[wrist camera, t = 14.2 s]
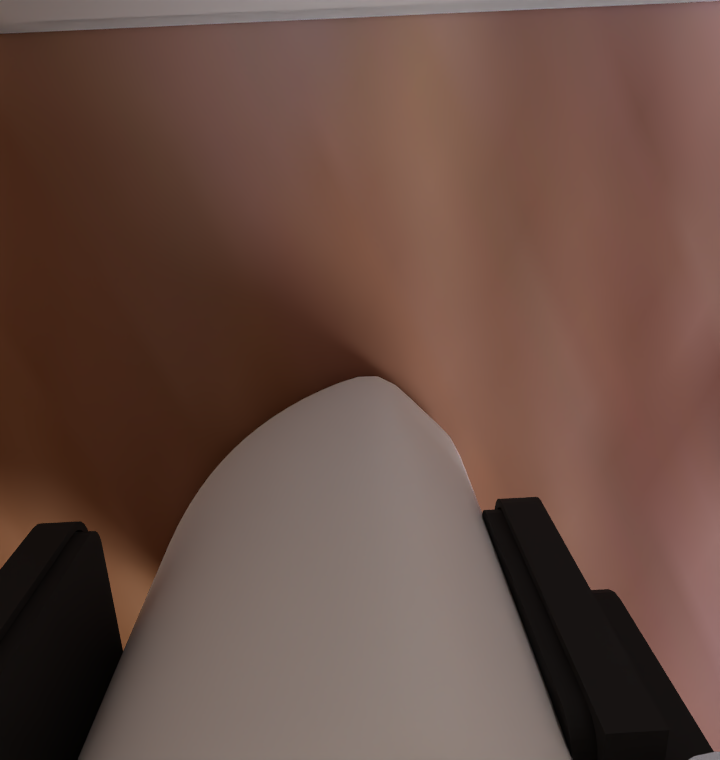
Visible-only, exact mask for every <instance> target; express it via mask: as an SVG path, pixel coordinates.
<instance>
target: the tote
mask: <svg viewBox="0 0 720 760" xmlns="http://www.w3.org/2000/svg"><path fill="white" fill-rule="evenodd" d="M706 1H720V0H0V34H5V33H27V32H49V31H71V30H93V29H115V28H136V27H158V26H180V25H202V24H224V23H246V22H268V21H290V20H312V19H334V18H356V17H377V16H399V15H421V14H443V13H465V12H487V11H509V10H531V9H553V8H575V7H597V6H618V5H640V4H662V3H684V2H706Z"/></svg>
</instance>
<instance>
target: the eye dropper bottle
mask: <svg viewBox="0 0 720 760" xmlns="http://www.w3.org/2000/svg"><path fill="white" fill-rule="evenodd" d="M78 760H572V758H571V755H570V752H569V749H568V746H567V744H566V741H565V738H564V735H563V732H562V730H561V727H560V724H559V721H558V718H557V715H556V713H555V710H554V707H553V704H552V701H551V699H550V696H549V693H548V690H547V688H546V685H545V682H544V680H543V677H542V674H541V672H540V669H539V666H538V664H537V661H536V658H535V656H534V653H533V650H532V648H531V645H530V642H529V640H528V637H527V634H526V632H525V629H524V626H523V624H522V621H521V618H520V616H519V613H518V610H517V608H516V605H515V602H514V600H513V597H512V594H511V592H510V589H509V586H508V584H507V581H506V578H505V576H504V573H503V570H502V568H501V565H500V562H499V560H498V557H497V554H496V552H495V549H494V546H493V544H492V541H491V538H490V536H489V533H488V531H487V528H486V525H485V523H484V520H483V517H482V512H481V509H480V506H479V504H478V501H477V499H476V496H475V493H474V491H473V488H472V486H471V483H470V480H469V478H468V475H467V473H466V470H465V468H464V465H463V462H462V460H461V457H460V455H459V453H458V451H457V449H456V447H455V445H454V443H453V442H452V440H451V438H450V436H449V435H448V434H447V433H446V432H445V431H444V430H443V429H442V428H441V427H440V426H439V425H438V424H437V423H436V422H435V421H434V420H433V419H432V418H431V417H430V416H429V415H428V414H427V413H425V412H424V411H423V410H422V409H421V408H420V407H419V406H418V405H417V404H416V403H415V402H414V401H413V400H412V399H411V398H410V397H408V396H407V395H406V394H405V393H404V392H403V391H402V390H400V389H399V388H398V387H397V386H396V385H394V384H392V383H390V382H388V381H386V380H384V379H382V378H380V377H378V376H364V377H356V378H353V379H349V380H346V381H343V382H340V383H337V384H335V385H332V386H330V387H328V388H325V389H323V390H321V391H318V392H316V393H314V394H312V395H310V396H308V397H306V398H304V399H302V400H300V401H299V402H297V403H295V404H293V405H291V406H290V407H288V408H286V409H285V410H283V411H282V412H280V413H278V414H277V415H275V416H274V417H272V418H271V419H269V420H268V421H267V422H265V423H264V424H262V425H261V426H260V427H258V428H257V429H256V430H255V431H253V432H252V433H251V434H250V435H248V436H247V437H246V438H245V439H244V440H243V441H242V442H241V443H239V444H238V445H237V446H236V447H235V448H234V449H233V450H232V451H231V452H230V453H229V454H228V455H227V456H226V457H225V458H224V459H223V460H222V462H221V463H220V464H219V465H218V466H217V467H216V469H215V470H214V471H213V472H212V473H211V475H210V476H209V477H208V478H207V480H206V481H205V482H204V484H203V485H202V487H201V488H200V489H199V491H198V492H197V494H196V495H195V497H194V498H193V500H192V502H191V503H190V505H189V506H188V508H187V510H186V512H185V513H184V515H183V517H182V519H181V521H180V522H179V524H178V526H177V528H176V530H175V533H174V535H173V537H172V539H171V541H170V543H169V546H168V548H167V550H166V552H165V555H164V557H163V559H162V562H161V564H160V567H159V569H158V571H157V574H156V576H155V578H154V581H153V583H152V585H151V588H150V590H149V592H148V595H147V597H146V599H145V602H144V604H143V606H142V609H141V611H140V613H139V616H138V618H137V621H136V623H135V625H134V628H133V630H132V632H131V635H130V637H129V639H128V642H127V644H126V646H125V649H124V651H123V653H122V656H121V658H120V660H119V663H118V665H117V668H116V670H115V672H114V675H113V677H112V679H111V682H110V684H109V686H108V689H107V691H106V693H105V696H104V698H103V701H102V703H101V705H100V708H99V710H98V712H97V715H96V717H95V720H94V722H93V724H92V727H91V729H90V731H89V734H88V736H87V738H86V741H85V743H84V746H83V748H82V750H81V753H80V755H79V757H78Z"/></svg>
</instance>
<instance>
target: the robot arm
mask: <svg viewBox="0 0 720 760" xmlns="http://www.w3.org/2000/svg"><path fill="white" fill-rule="evenodd" d="M482 517H483V520H484V523H485V525H486V528H487V531H488V533H489V536H490V538H491V541H492V544H493V546H494V549H495V552H496V554H497V557H498V560H499V562H500V565H501V568H502V570H503V573H504V576H505V578H506V581H507V584H508V586H509V589H510V592H511V594H512V597H513V600H514V602H515V605H516V608H517V610H518V613H519V616H520V618H521V621H522V624H523V626H524V629H525V632H526V634H527V637H528V640H529V642H530V645H531V648H532V650H533V653H534V656H535V658H536V661H537V664H538V666H539V669H540V672H541V674H542V677H543V680H544V682H545V685H546V688H547V690H548V693H549V696H550V699H551V701H552V704H553V707H554V710H555V713H556V715H557V718H558V721H559V724H560V727H561V730H562V732H563V735H564V738H565V741H566V744H567V746H568V749H569V752H570V755H571V758H572V760H720V752H714V751H713V750H712V748H711V746H710V745H709V743H708V741H707V740H706V738H705V737H704V735H703V733H702V732H701V730H700V728H699V727H698V725H697V724H696V722H695V720H694V719H693V717H692V715H691V714H690V712H689V711H688V709H687V707H686V706H685V704H684V702H683V701H682V699H681V697H680V696H679V694H678V693H677V691H676V689H675V688H674V686H673V684H672V683H671V681H670V680H669V678H668V676H667V675H666V673H665V671H664V670H663V668H662V666H661V665H660V663H659V662H658V660H657V658H656V657H655V655H654V653H653V652H652V650H651V649H650V647H649V645H648V644H647V642H646V640H645V639H644V637H643V635H642V634H641V632H640V631H639V629H638V627H637V626H636V624H635V622H634V621H633V619H632V618H631V616H630V614H629V613H628V611H627V609H626V608H625V606H624V604H623V603H622V601H621V600H620V598H619V597H618V596H617V595H616V593H615V592H613V591H611V590H609V589H605V590H591V589H590V588H589V586H588V584H587V582H586V580H585V579H584V577H583V575H582V573H581V572H580V570H579V568H578V566H577V564H576V563H575V561H574V559H573V557H572V555H571V554H570V552H569V550H568V548H567V547H566V545H565V543H564V541H563V539H562V538H561V536H560V534H559V532H558V530H557V529H556V527H555V525H554V523H553V522H552V520H551V518H550V516H549V514H548V513H547V511H546V509H545V507H544V505H543V504H542V502H541V500H540V499H539V498H538V497H527V498H509V499H498V500H497V501H496V505H495V510H484V511H483V513H482ZM122 653H123V649H122V644H121V639H120V634H119V629H118V624H117V618H116V613H115V608H114V603H113V598H112V593H111V588H110V583H109V578H108V573H107V568H106V563H105V558H104V552H103V547H102V542H101V539H100V536H99V534H98V533H97V532H96V531H89V532H88V530H87V528H86V526H85V524H84V523H82V522H81V521H80V522H61V523H43V524H37V525H36V526H35V527H34V528H33V529H32V530H31V532H30V533H29V534H28V535H27V537H26V538H25V539H24V540H23V542H22V543H21V544H20V545H19V547H18V548H17V549H16V550H15V552H14V553H13V554H12V555H11V557H10V558H9V559H8V560H7V562H6V563H5V564H4V566H3V567H2V568H1V569H0V760H78V757H79V755H80V753H81V750H82V748H83V746H84V743H85V741H86V738H87V736H88V734H89V731H90V729H91V727H92V724H93V722H94V720H95V717H96V715H97V712H98V710H99V708H100V705H101V703H102V701H103V698H104V696H105V693H106V691H107V689H108V686H109V684H110V682H111V679H112V677H113V675H114V672H115V670H116V668H117V665H118V663H119V660H120V658H121V656H122Z"/></svg>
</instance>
